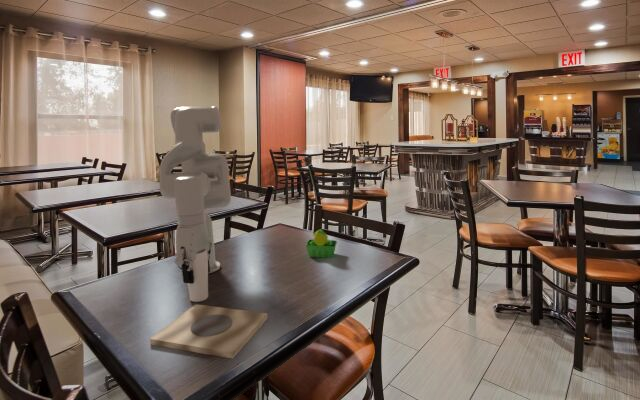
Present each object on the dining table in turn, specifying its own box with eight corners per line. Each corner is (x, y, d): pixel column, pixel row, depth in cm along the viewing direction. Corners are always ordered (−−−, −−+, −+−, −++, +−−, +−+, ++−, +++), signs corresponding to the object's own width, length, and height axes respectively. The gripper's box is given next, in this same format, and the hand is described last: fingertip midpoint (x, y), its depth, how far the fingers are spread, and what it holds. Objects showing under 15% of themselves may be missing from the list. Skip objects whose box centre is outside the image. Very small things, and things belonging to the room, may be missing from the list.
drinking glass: (190, 294, 116) (185, 247, 113) (213, 293, 117) (208, 246, 114) (184, 304, 109) (179, 255, 107) (208, 303, 110) (204, 254, 107)
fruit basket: (337, 252, 150) (337, 225, 148) (334, 260, 142) (333, 231, 139) (309, 251, 152) (308, 224, 150) (304, 259, 144) (303, 230, 142)
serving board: (150, 344, 90) (149, 337, 89) (195, 309, 107) (195, 303, 106) (233, 358, 83) (232, 351, 83) (267, 318, 100) (267, 312, 100)
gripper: (198, 211, 117) (203, 265, 121) (159, 226, 101) (166, 288, 105) (219, 212, 115) (224, 267, 119) (183, 228, 99) (190, 291, 102)
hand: (197, 277), depth 112 cm, fingers open, 7 cm apart
